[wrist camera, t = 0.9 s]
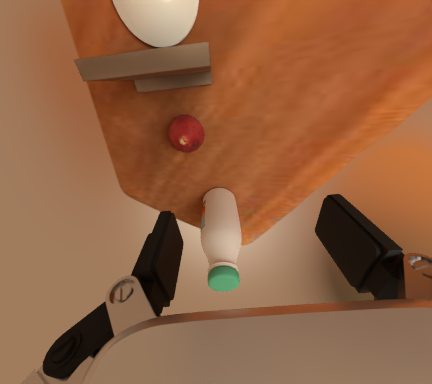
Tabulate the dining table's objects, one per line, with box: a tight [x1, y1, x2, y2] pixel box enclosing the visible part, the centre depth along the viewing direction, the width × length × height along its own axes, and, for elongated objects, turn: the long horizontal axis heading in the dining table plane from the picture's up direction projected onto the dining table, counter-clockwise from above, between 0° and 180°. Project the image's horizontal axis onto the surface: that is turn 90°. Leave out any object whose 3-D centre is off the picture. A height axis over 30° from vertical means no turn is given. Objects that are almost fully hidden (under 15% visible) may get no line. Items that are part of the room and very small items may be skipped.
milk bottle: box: [201, 188, 242, 291], centre depth 32 cm, size 8×8×20 cm
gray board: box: [74, 42, 212, 93], centre depth 20 cm, size 5×12×13 cm, turn 96°
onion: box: [168, 115, 204, 152], centre depth 28 cm, size 6×6×8 cm
